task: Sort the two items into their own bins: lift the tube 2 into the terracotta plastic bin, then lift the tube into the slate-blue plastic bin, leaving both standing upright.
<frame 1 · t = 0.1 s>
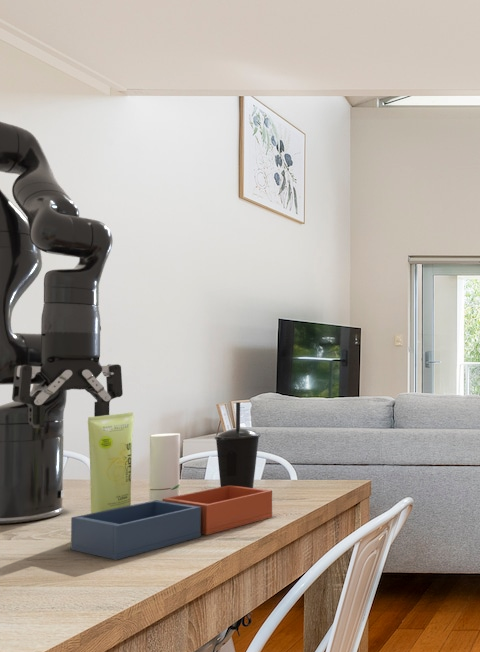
hand: (70, 425, 99), 17 cm above the table, tool pointing down, fingers open, 8 cm apart
terracotta bin: (218, 522, 100), on the table
blue bin: (137, 542, 89), on the table
drinking cup: (237, 505, 113), on the table
tube: (109, 534, 94), on the table
tube 2: (164, 520, 103), on the table
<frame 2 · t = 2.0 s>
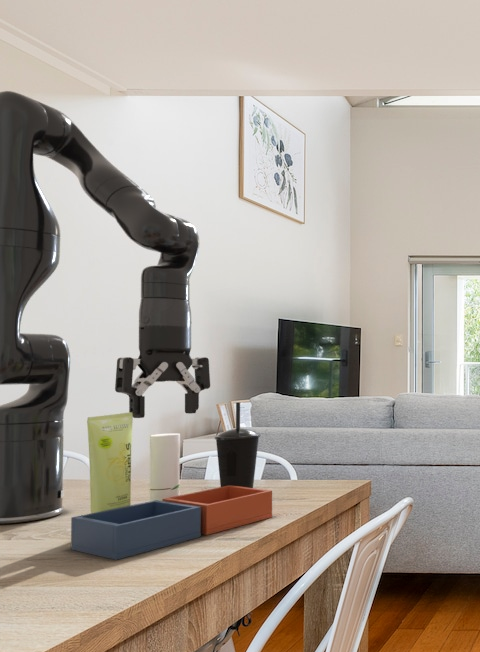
hand: (165, 415, 103), 18 cm above the table, tool pointing down, fingers open, 8 cm apart
tube: (109, 534, 94), on the table, touching gripper
everything else where it was.
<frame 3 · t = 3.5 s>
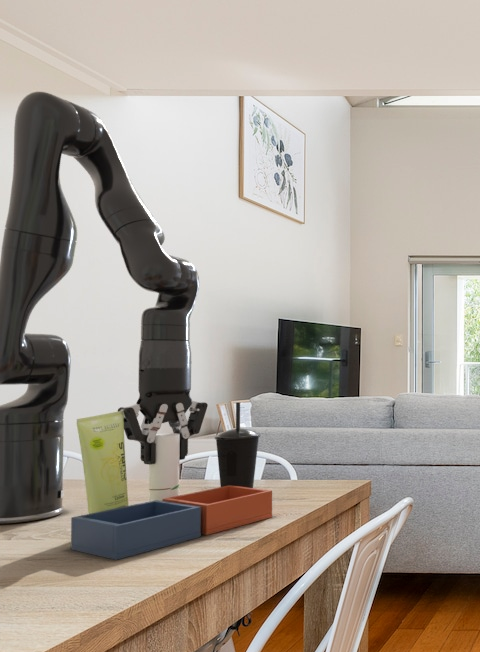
hand: (164, 461, 103), 10 cm above the table, tool pointing down, fingers closed on tube 2, 4 cm apart
tube: (109, 533, 94), on the table, touching hand
tube 2: (164, 520, 102), on the table, touching gripper
everything else where it was.
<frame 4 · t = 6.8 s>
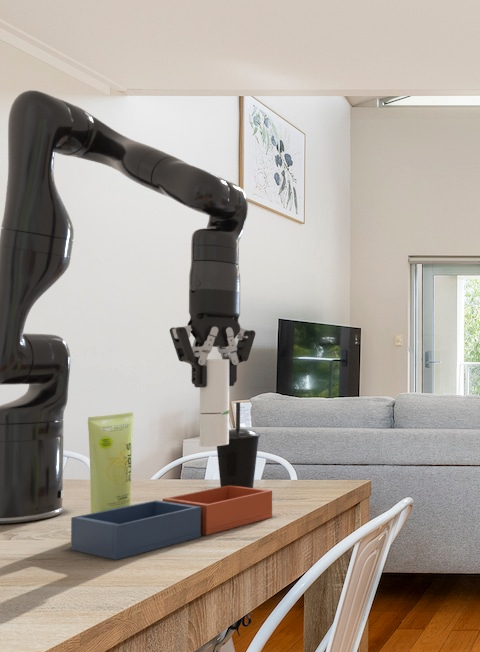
hand: (214, 386, 101), 24 cm above the table, tool pointing down, fingers closed on tube 2, 4 cm apart
tube: (109, 534, 94), on the table
tube 2: (214, 445, 101), point 13 cm above the table, touching gripper
everything else where it was.
when the fingers open (11 cm above the table, at t = 10.1 s): tube 2 stays where it is, resting on terracotta bin.
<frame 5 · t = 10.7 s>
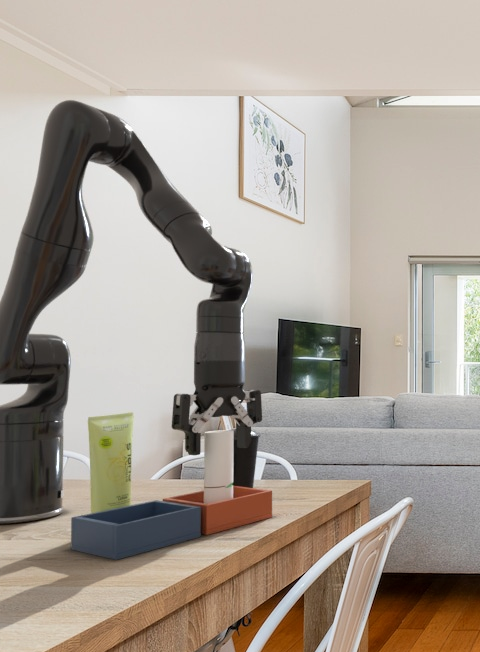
hand: (219, 451, 101), 12 cm above the table, tool pointing down, fingers open, 8 cm apart
tube 2: (218, 518, 100), point 1 cm above the table, touching terracotta bin
everything else where it was.
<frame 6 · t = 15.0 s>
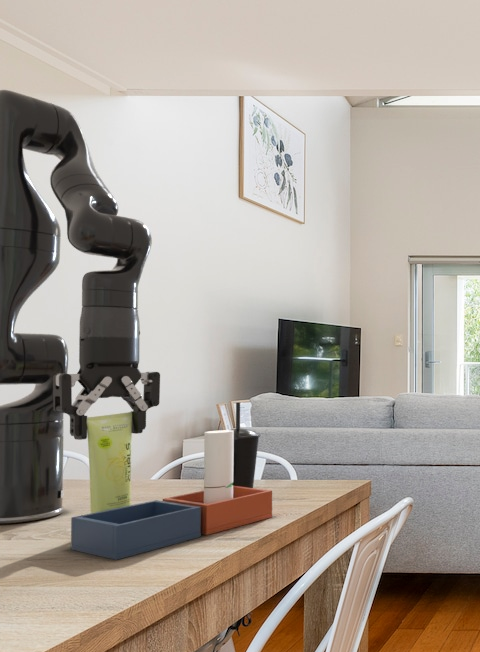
hand: (109, 435, 94), 16 cm above the table, tool pointing down, fingers closed on tube, 7 cm apart
tube: (109, 534, 94), on the table, touching gripper
everything else where it was.
when the fingers open (17 cm above the table, at t = 22.8 s): tube stays where it is, resting on blue bin.
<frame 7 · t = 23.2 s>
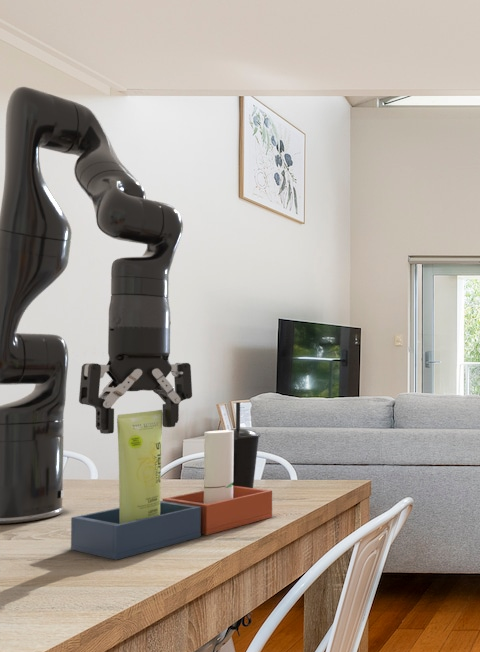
hand: (139, 430, 89), 17 cm above the table, tool pointing down, fingers open, 8 cm apart
tube: (138, 538, 89), point 1 cm above the table, touching blue bin
everything else where it was.
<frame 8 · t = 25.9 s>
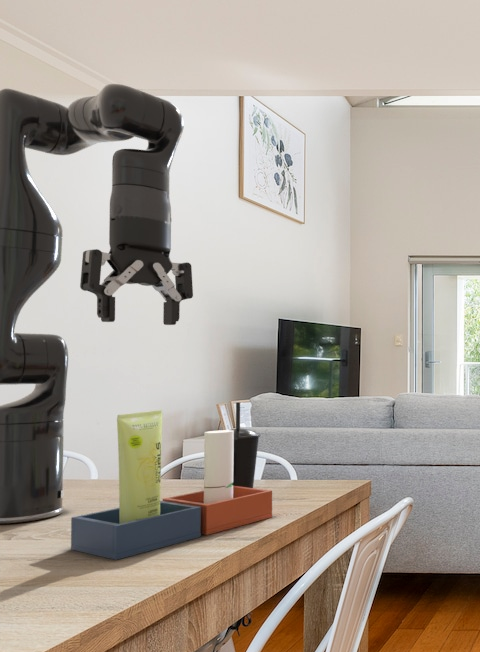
hand: (140, 323, 90), 34 cm above the table, tool pointing down, fingers open, 8 cm apart
nothing on the table moved.
at the end: tube 2 inside the target area in the terracotta bin (0.1 cm from its centre), point 0.6 cm above the terracotta bin's base; tube inside the target area in the blue bin (0.1 cm from its centre), point 0.6 cm above the blue bin's base; tube tilted 0° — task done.
